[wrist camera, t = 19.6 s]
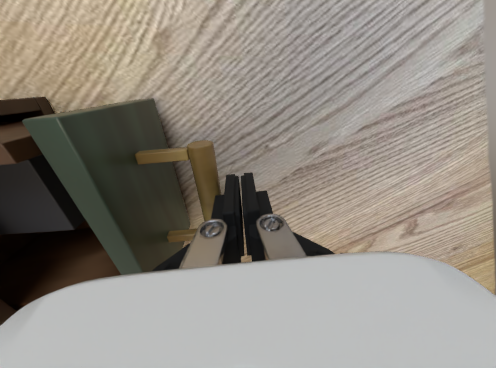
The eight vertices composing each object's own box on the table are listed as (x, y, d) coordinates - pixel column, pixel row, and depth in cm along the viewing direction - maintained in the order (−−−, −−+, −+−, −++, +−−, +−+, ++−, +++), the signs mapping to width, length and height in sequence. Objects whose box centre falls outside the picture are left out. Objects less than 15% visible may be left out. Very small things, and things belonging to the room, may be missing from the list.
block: (-74, 164, 8) (27, 158, 9) (25, 138, 12) (92, 135, 13) (-5, 235, 11) (74, 230, 11) (60, 194, 15) (117, 191, 15)
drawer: (215, 93, 13) (189, 106, 6) (232, 220, 18) (230, 302, 11) (-45, 113, 12) (-386, 151, 6) (53, 236, 18) (-58, 329, 11)
